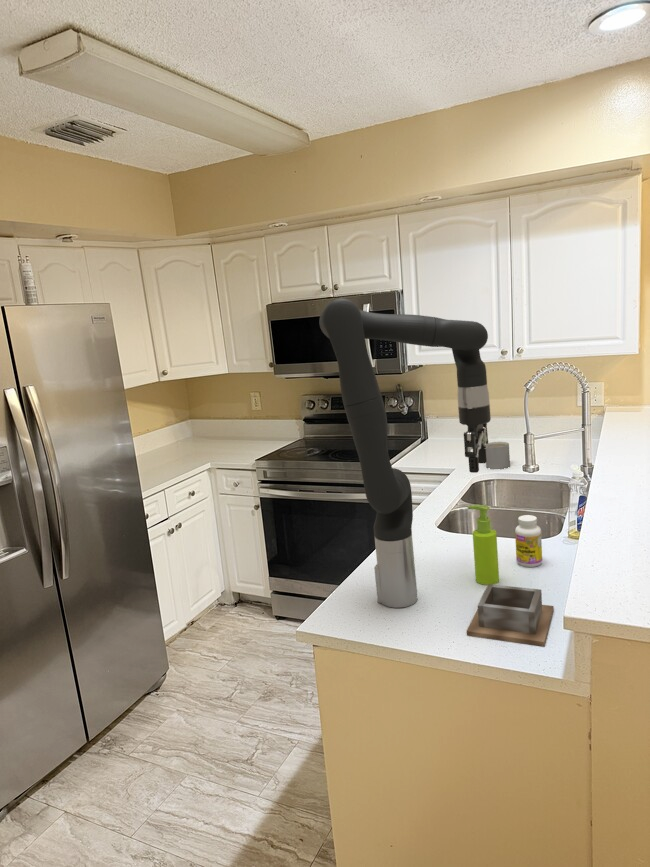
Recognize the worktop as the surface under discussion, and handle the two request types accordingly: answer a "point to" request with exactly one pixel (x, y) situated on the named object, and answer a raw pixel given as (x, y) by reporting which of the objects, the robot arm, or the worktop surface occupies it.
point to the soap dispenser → (485, 549)
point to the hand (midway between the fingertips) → (478, 467)
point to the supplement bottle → (528, 542)
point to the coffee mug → (497, 455)
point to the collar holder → (512, 615)
